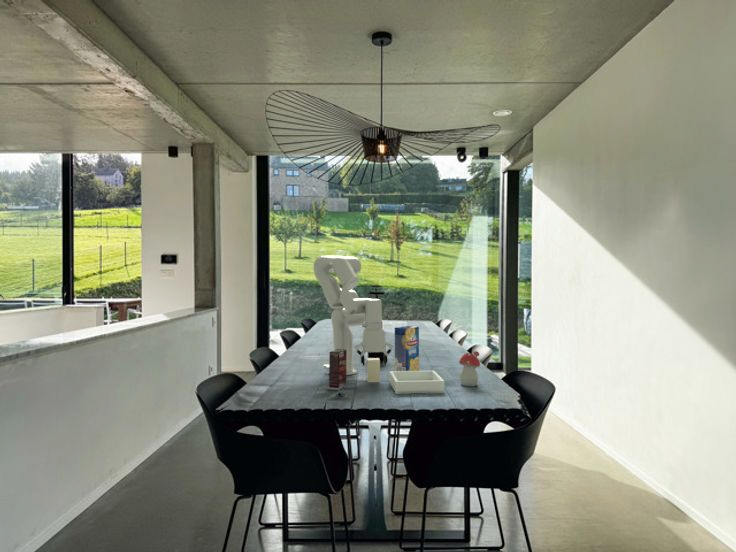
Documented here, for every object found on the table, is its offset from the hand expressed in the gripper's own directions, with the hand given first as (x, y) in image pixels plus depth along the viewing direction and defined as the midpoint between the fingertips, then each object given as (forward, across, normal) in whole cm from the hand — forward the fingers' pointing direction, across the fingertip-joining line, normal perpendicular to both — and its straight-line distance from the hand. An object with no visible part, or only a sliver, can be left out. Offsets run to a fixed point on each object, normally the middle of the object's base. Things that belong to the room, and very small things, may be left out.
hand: (374, 364), depth 242 cm
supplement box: (+8, -16, -11) cm, 21 cm away
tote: (+8, +16, -13) cm, 23 cm away
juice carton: (+8, 0, +1) cm, 8 cm away
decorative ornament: (+9, +40, -10) cm, 43 cm away
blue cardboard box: (+8, +18, +21) cm, 28 cm away
